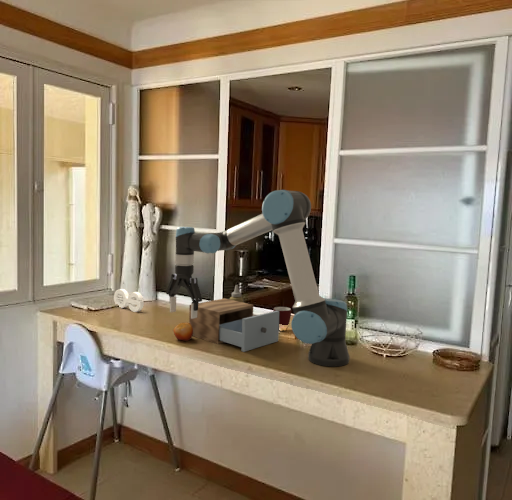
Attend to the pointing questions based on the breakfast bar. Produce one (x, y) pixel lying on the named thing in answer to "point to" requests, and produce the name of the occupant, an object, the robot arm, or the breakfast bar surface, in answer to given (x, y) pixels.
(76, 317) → the breakfast bar surface
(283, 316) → the mug
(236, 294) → the squeeze bottle
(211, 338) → the wooden drawer cabinet
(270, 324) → the grey drawer
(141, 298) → the contact lens case
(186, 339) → the fruit
